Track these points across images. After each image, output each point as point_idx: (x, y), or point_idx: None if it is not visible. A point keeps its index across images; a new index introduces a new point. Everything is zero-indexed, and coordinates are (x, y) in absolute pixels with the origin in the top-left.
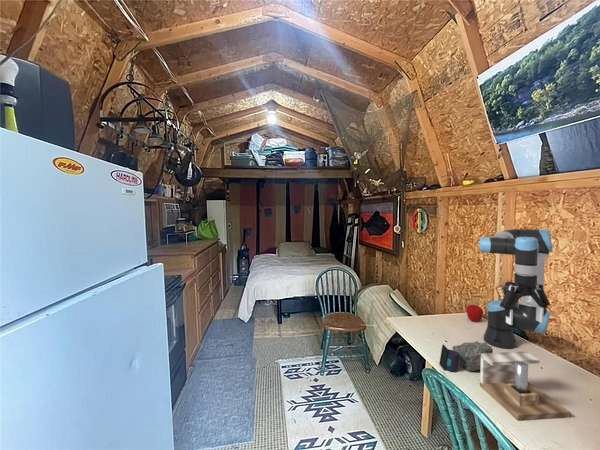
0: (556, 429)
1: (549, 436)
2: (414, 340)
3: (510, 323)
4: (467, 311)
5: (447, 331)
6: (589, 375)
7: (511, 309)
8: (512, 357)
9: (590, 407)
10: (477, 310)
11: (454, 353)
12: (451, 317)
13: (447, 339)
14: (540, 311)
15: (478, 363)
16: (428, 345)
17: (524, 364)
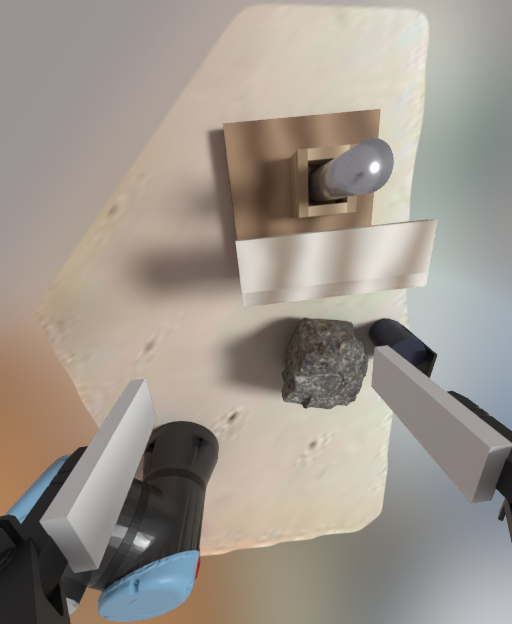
0: (298, 74)
1: (339, 43)
2: (385, 442)
3: (393, 353)
4: (199, 561)
5: (281, 483)
6: (41, 317)
7: (489, 460)
8: (330, 258)
9: (137, 173)
10: None
11: (406, 349)
12: (231, 539)
13: (304, 451)
14: (104, 472)
15: (337, 328)
16: (366, 424)
17: (358, 165)
